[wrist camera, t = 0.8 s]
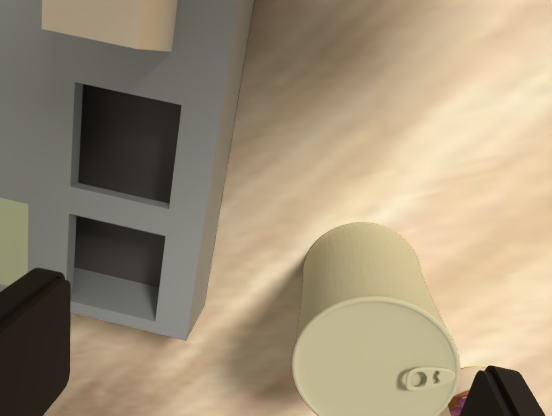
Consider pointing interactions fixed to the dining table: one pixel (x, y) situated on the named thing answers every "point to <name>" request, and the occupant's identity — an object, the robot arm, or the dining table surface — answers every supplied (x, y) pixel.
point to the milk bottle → (461, 391)
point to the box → (119, 160)
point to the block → (114, 21)
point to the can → (371, 329)
